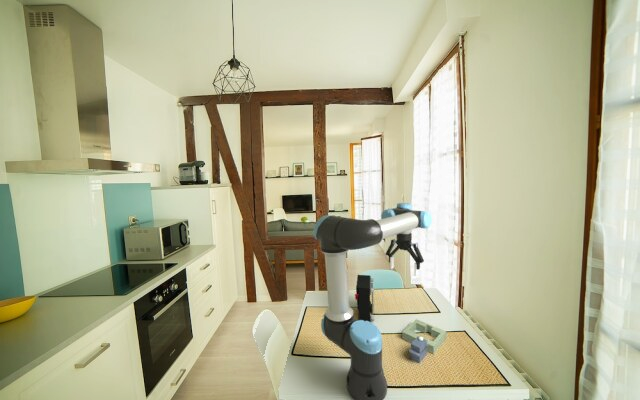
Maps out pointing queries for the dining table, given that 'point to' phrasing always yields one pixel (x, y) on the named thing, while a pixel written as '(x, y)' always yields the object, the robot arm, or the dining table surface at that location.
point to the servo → (418, 349)
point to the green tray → (424, 327)
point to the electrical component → (364, 297)
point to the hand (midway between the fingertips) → (403, 271)
